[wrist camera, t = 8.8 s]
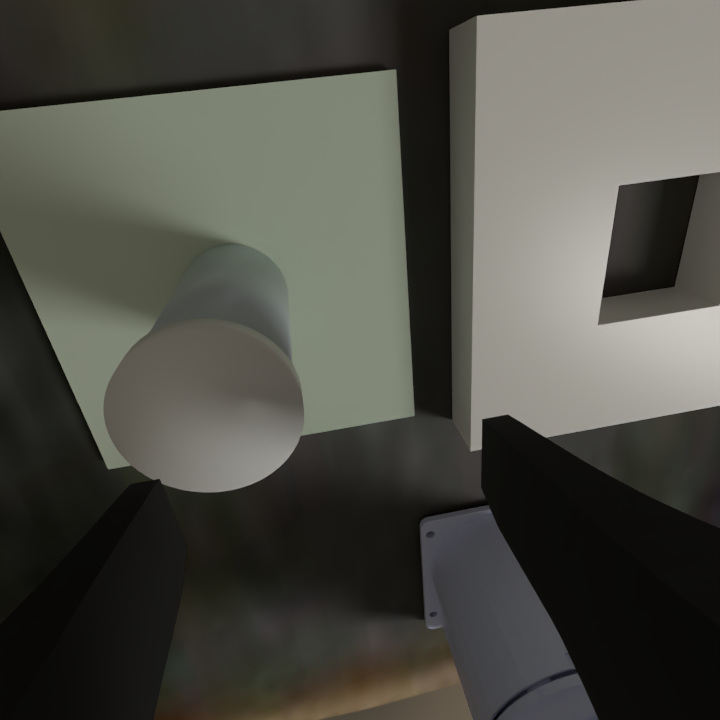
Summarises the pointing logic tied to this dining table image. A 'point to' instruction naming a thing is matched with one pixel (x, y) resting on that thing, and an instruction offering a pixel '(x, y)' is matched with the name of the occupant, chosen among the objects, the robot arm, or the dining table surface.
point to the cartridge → (211, 379)
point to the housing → (580, 213)
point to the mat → (219, 228)
